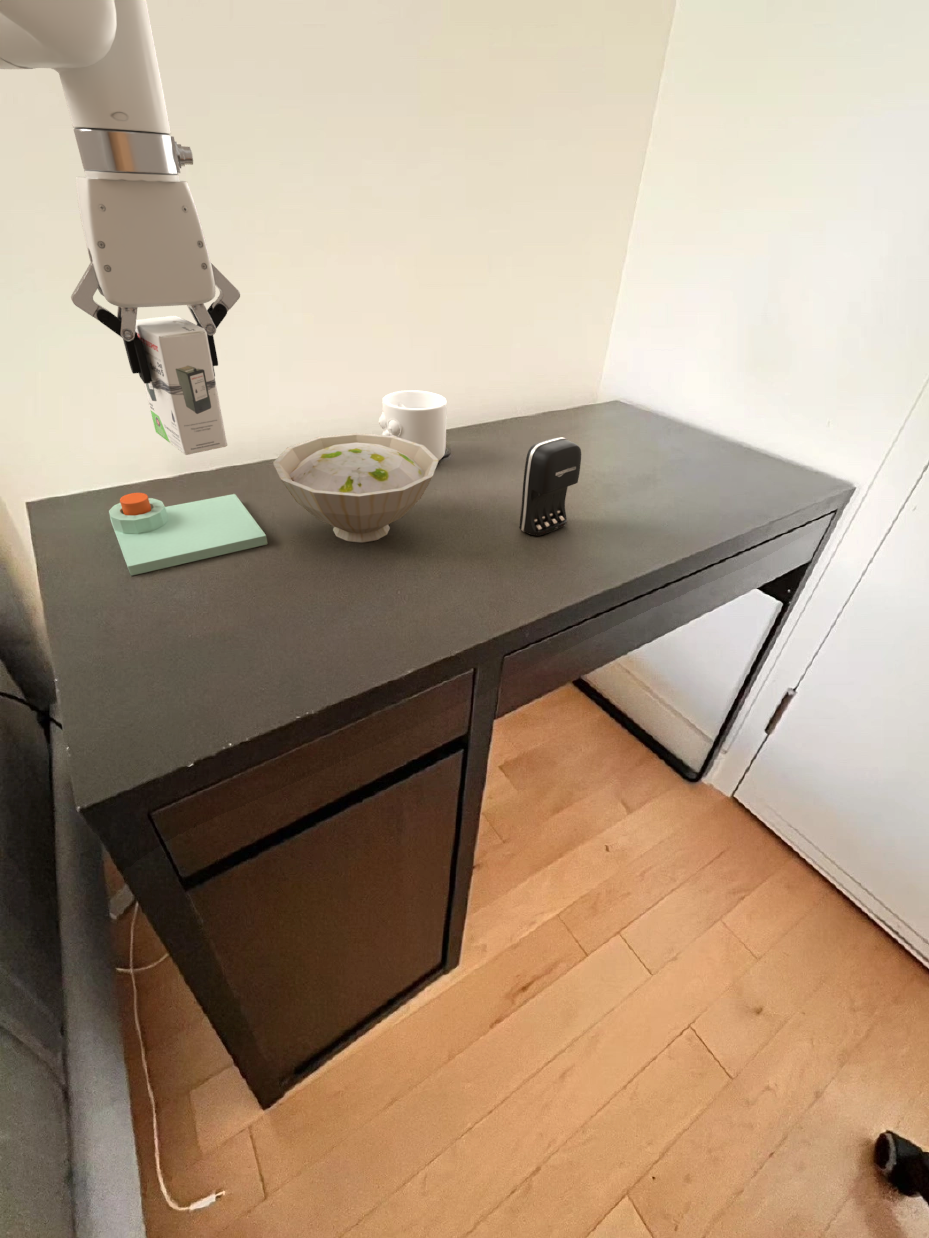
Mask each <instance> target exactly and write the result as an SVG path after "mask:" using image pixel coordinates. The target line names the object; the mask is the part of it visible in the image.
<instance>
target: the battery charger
mask: <svg viewBox="0 0 929 1238" xmlns="http://www.w3.org/2000/svg"><path fill="white" fill-rule="evenodd" d="M581 464H582V450H581V447H580V446H579V444H577V443H575V442H573V441H571V440H569V439H568V438H565V437H560V436H559V437H553V438H549V439H545V440H542V441H538V442H536V443H534V444H532V446H530V448H529V449H528V451H527V454H526V457H525V464H524V470H523V471H524V472H523V482H522V492H521V494H522V495H521V508H520V509H521V510H520V517H519V525H518V528H519V530H521V532H523V533H527V534H529V535H532V536H535V537H538V536H539V537H540V536H543V535H547V534H548V533H551V532H554V531H556V530H558V529H561V528H563V527H565V526H566V525H567V522H568V520H567V519H568V518H567V513H566V512H567V511H566V497H567V493H568V487H570V486H574V485H576V484H578V483H579V477H580V473H581Z"/></svg>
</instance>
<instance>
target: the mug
mask: <svg viewBox="0 0 929 1238" xmlns="http://www.w3.org/2000/svg"><path fill="white" fill-rule="evenodd" d="M381 400H382V401H381V407H382V411H381V415H380V416H379V419H378V425H379V427H380V428H381V429H382V434H381V435H386V436H395V437H398V438H401V439H405V440H408V441H411V442H414V443H417V444H420V445H423V446H425V447H426V448H427V449H428V450H429V451H430V452H431V453H432V454H433V455H434V456H435V457H436V458H437V459H438V460H439V461H440V460H442V458H443V457H444V456H445V454H446V446H447V417H448V416H447V413H448V411H447V410H448V402H447V399H446V397H444V396H443V395H441V394H438V393H435V392H431V391H425V390H417V389H416V390H415V389H413V390H409V389H408V390H398V391H394V392H393V391H392V392H390V393H387V394H386V395H384V396H383V397H382V399H381Z"/></svg>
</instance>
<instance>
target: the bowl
mask: <svg viewBox="0 0 929 1238" xmlns="http://www.w3.org/2000/svg"><path fill="white" fill-rule="evenodd" d="M439 461H440V460H438V459H437V458H436V457H435V456H434V455H433V454H432V453H431V452H430V451H429V450H428V449H427V448H426V447H425V446H423V445H420V444H417V443H414V442H411V441H408V440H405V439H401V438H398V437H395V436H386V435H382V434H374V433H373V434H371V433H361V432H360V433H359V432H353V433H343V434H335V435H334V434H332V435H324V436H317V437H314V438H310V439H308V440H305V441H303V442H302V441H301V442H298V443H296V444H294V445H290V446H287V447H286V448H285V449H284V450H283V451H282V452H281V454H279V456H277V458H276V459H275V460H274V461H273V462H272V464H273V466H274V468H275V470H276V472H277V474H278V476H279V479H280V480H281V482H282V483H283V485H284V486H285V488H286V489H287V490H288V492H289V493H290V494H291V496H292V498H293V499H294V500H295V502H296V503H297V504H298V505H300V506H301V507H302V508H303V509H305V510H306V511H307V512H309V513H310V514H311V515H312V516H313V517H314V518H315V519H317V520H318V521H321V522H322V523H325V524H327V525H330V526H332V527H333V528H332V531H333V533H334V534H335V536H336V537H337V538H339V539H341V540H344V541H346V542H353V543H368V542H373V541H377V540H380V539H381V538H384V537H386V536H388V533H389V531H390V529H391V526H389V525H390V524H392V523H394V522H395V521H398V520H400V519H402V518H403V517H404V516H405V515H406V514H407V512H409V511H410V510H411V509H412V508H413V507H414V506H415V505H416V504H417V503H418V502H419V501H420V500H421V499H422V497H423V496H424V493H425V492H426V490H427V488H428V486H429V484H430V482H431V481H432V479H433V476H434V474H435V471H436V468H437V466H438V463H439Z"/></svg>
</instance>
